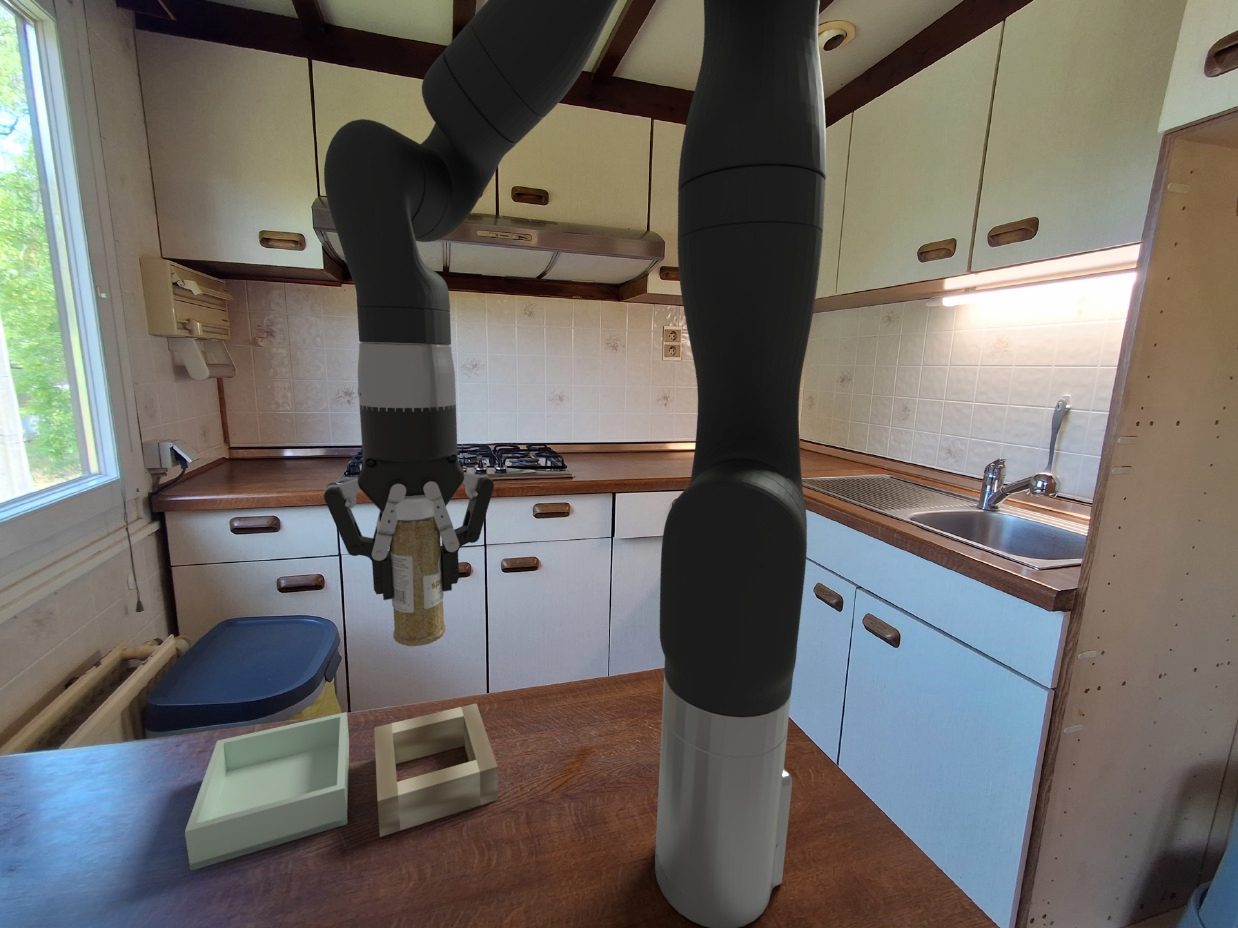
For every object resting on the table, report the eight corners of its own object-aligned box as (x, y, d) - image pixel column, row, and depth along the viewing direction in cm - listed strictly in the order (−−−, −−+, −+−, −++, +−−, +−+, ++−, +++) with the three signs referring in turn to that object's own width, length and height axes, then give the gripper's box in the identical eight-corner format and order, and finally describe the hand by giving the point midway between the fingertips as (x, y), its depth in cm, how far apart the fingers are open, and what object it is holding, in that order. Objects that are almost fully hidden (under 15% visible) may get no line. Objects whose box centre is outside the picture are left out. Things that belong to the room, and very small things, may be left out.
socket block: (477, 732, 59) (476, 703, 59) (498, 799, 50) (497, 766, 50) (376, 758, 55) (374, 727, 54) (379, 836, 46) (377, 801, 46)
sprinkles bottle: (452, 640, 49) (447, 494, 47) (398, 653, 47) (390, 501, 44) (438, 619, 53) (432, 483, 50) (387, 630, 50) (379, 488, 48)
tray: (349, 742, 57) (346, 711, 56) (347, 823, 47) (344, 787, 47) (221, 773, 53) (217, 740, 52) (190, 870, 43) (184, 831, 42)
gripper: (306, 405, 39) (325, 625, 43) (504, 403, 45) (507, 596, 49) (314, 396, 46) (329, 587, 49) (486, 396, 52) (489, 566, 55)
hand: (417, 590), depth 49 cm, fingers closed on sprinkles bottle, 4 cm apart
